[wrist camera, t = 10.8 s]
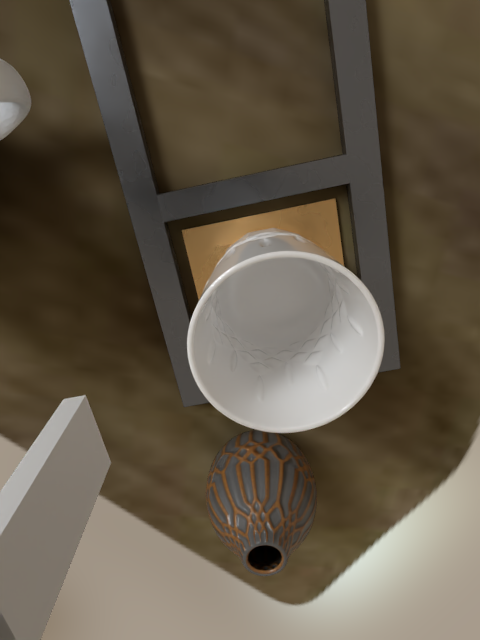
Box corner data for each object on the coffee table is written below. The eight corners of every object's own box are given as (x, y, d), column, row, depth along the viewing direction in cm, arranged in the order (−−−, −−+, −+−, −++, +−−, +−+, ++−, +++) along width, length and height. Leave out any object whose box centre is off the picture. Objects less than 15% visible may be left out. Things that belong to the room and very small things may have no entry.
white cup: (256, 366, 29) (264, 464, 20) (178, 271, 27) (145, 331, 18) (360, 295, 28) (421, 366, 18) (286, 188, 26) (312, 207, 16)
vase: (313, 488, 33) (337, 599, 25) (219, 501, 34) (212, 614, 25) (301, 406, 31) (323, 498, 23) (201, 421, 31) (186, 517, 23)
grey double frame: (62, -43, 22) (53, -54, 21) (348, -117, 21) (354, -132, 20) (185, 399, 31) (183, 408, 29) (395, 361, 30) (401, 369, 28)
